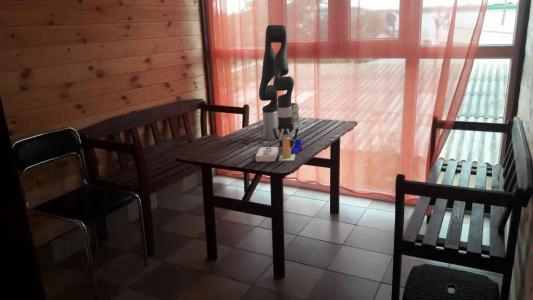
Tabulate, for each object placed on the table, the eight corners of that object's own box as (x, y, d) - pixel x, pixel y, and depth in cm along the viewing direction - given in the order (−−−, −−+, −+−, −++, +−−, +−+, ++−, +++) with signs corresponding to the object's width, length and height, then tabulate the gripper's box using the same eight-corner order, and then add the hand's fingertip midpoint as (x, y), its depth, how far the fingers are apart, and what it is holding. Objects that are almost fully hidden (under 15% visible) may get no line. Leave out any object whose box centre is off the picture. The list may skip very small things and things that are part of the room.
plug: (283, 156, 237) (282, 138, 234) (291, 156, 236) (290, 138, 233) (282, 158, 233) (281, 140, 230) (290, 158, 232) (289, 140, 229)
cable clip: (291, 154, 238) (290, 144, 236) (284, 153, 241) (284, 143, 239) (303, 150, 247) (303, 139, 245) (297, 149, 249) (297, 139, 248)
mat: (280, 155, 240) (280, 154, 240) (295, 155, 239) (295, 154, 239) (278, 161, 231) (278, 160, 231) (293, 161, 229) (293, 159, 229)
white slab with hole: (260, 152, 248) (260, 147, 247) (278, 152, 246) (278, 146, 245) (255, 161, 233) (255, 155, 232) (274, 161, 231) (274, 155, 230)
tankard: (300, 121, 317) (299, 100, 312) (299, 125, 305) (298, 104, 300) (272, 122, 319) (271, 101, 315) (271, 126, 307) (269, 105, 303)
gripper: (299, 113, 231) (300, 144, 235) (272, 114, 233) (274, 145, 238) (298, 116, 223) (299, 148, 228) (270, 117, 226) (272, 149, 231)
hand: (286, 146), depth 233 cm, fingers open, 4 cm apart
